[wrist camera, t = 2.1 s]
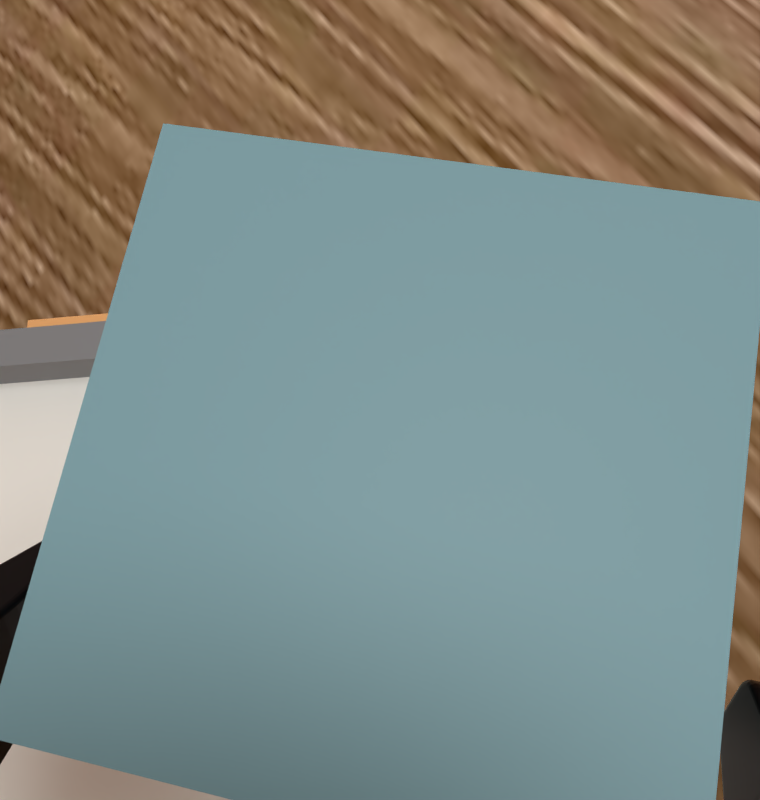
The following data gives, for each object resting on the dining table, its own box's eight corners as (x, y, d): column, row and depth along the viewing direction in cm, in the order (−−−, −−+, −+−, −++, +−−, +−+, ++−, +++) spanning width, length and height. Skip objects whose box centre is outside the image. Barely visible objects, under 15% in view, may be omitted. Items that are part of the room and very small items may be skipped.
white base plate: (615, 817, 17) (648, 868, 14) (-78, 840, 18) (-168, 890, 16) (555, 317, 20) (573, 280, 17) (-41, 367, 21) (-111, 339, 19)
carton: (508, 648, 17) (705, 922, 4) (311, 606, 18) (-15, 735, 5) (540, 444, 18) (772, 186, 5) (353, 411, 19) (167, 108, 6)
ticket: (188, 344, 20) (158, 319, 18) (70, 354, 21) (27, 331, 18) (188, 335, 20) (159, 309, 18) (70, 344, 21) (27, 320, 19)
